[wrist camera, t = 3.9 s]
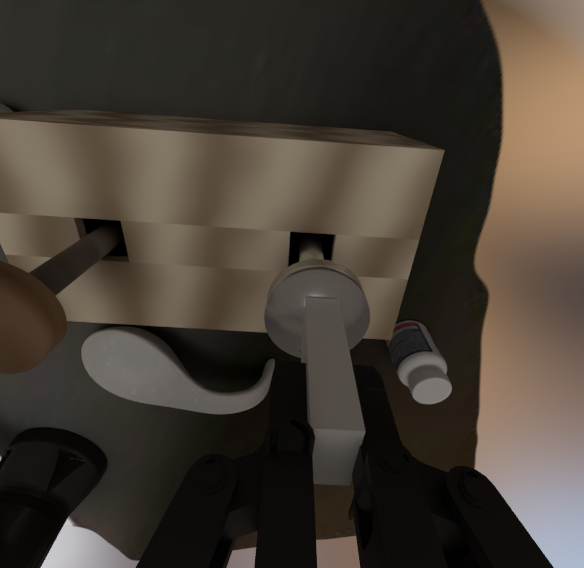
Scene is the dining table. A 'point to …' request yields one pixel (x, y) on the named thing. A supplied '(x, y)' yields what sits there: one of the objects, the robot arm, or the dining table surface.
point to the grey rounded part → (313, 296)
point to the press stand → (209, 210)
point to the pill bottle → (419, 362)
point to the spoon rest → (159, 373)
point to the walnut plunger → (44, 299)
